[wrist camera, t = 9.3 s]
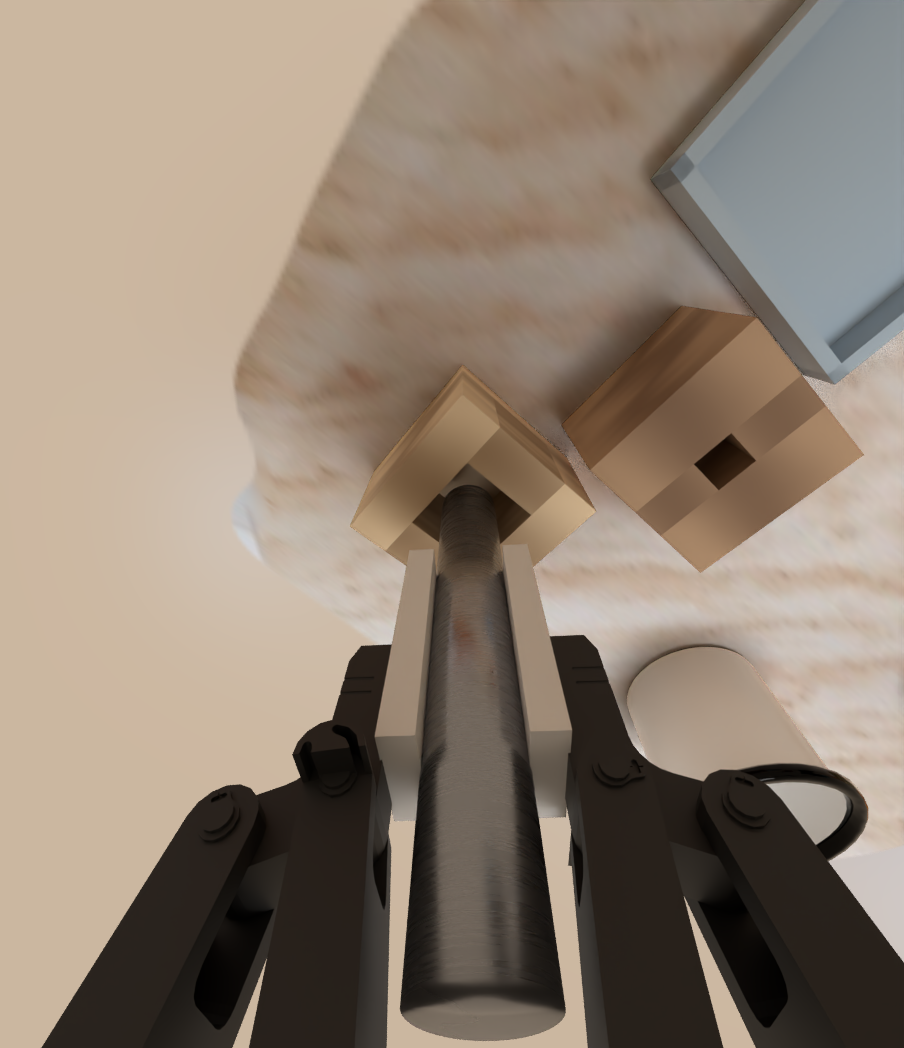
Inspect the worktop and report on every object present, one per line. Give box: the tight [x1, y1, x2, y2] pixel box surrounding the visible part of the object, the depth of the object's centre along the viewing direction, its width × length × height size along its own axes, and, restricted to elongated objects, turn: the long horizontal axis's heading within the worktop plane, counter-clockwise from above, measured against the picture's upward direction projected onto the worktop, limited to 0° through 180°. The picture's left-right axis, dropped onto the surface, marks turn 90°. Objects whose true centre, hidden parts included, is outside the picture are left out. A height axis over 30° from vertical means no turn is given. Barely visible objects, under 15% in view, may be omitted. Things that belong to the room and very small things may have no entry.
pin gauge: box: [400, 485, 566, 1041], centre depth 13 cm, size 2×2×15 cm
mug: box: [627, 647, 868, 861], centre depth 27 cm, size 12×10×9 cm
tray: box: [650, 0, 904, 384], centre depth 17 cm, size 11×11×2 cm
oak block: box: [350, 365, 596, 573], centre depth 21 cm, size 7×7×6 cm
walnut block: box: [562, 306, 864, 573], centre depth 20 cm, size 7×7×6 cm
